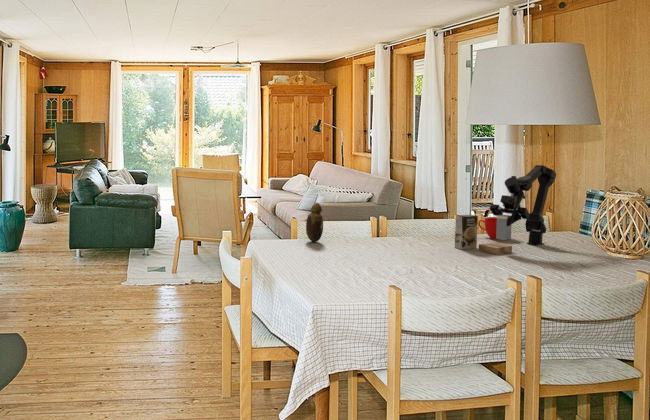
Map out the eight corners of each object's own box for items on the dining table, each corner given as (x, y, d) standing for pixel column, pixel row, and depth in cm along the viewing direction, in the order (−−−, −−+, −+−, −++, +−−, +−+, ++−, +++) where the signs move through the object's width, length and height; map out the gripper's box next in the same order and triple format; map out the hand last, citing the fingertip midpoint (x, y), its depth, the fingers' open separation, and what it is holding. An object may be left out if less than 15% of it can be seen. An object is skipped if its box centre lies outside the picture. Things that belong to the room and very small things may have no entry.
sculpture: (323, 244, 375) (324, 204, 372) (307, 244, 374) (307, 204, 371) (321, 239, 388) (321, 201, 385) (305, 239, 387) (305, 201, 384)
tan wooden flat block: (495, 248, 367) (495, 242, 366) (511, 252, 357) (512, 246, 357) (478, 250, 361) (478, 244, 360) (495, 254, 352) (495, 248, 351)
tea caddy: (501, 237, 358) (502, 214, 357) (511, 238, 355) (512, 215, 353) (495, 238, 355) (496, 215, 353) (505, 240, 351) (506, 216, 350)
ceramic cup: (483, 234, 408) (483, 216, 406) (512, 237, 398) (513, 219, 397) (472, 237, 397) (473, 219, 396) (503, 241, 388) (503, 222, 386)
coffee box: (462, 249, 363) (463, 216, 361) (454, 247, 368) (455, 215, 366) (477, 248, 367) (478, 215, 365) (468, 246, 373) (470, 214, 370)
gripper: (492, 187, 361) (479, 212, 354) (527, 190, 348) (514, 216, 342) (499, 202, 368) (487, 227, 361) (534, 205, 355) (522, 231, 348)
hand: (502, 225), depth 353 cm, fingers closed on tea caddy, 5 cm apart
